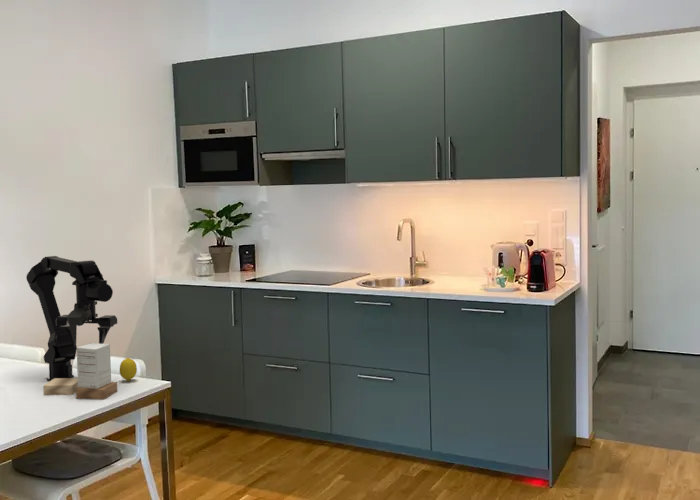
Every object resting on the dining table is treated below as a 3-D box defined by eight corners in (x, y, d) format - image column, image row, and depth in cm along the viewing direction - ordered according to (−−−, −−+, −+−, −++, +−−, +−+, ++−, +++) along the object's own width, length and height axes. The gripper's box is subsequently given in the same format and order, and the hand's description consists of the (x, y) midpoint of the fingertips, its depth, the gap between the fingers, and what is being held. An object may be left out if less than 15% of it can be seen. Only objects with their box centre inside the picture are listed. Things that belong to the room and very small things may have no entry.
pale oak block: (43, 395, 224) (43, 385, 224) (54, 387, 233) (54, 378, 233) (72, 394, 225) (72, 385, 224) (82, 386, 234) (82, 377, 233)
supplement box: (92, 381, 229) (90, 342, 228) (112, 383, 227) (110, 343, 226) (77, 387, 222) (75, 347, 221) (97, 389, 220) (96, 348, 219)
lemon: (139, 379, 243) (138, 355, 242) (133, 383, 238) (132, 359, 237) (123, 378, 244) (123, 355, 243) (117, 383, 238) (116, 359, 238)
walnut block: (76, 398, 220) (75, 388, 220) (90, 390, 229) (90, 381, 229) (103, 399, 219) (103, 389, 219) (117, 391, 228) (116, 382, 228)
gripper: (45, 302, 226) (47, 351, 227) (101, 303, 224) (102, 352, 225) (64, 297, 237) (65, 344, 238) (117, 298, 235) (118, 345, 236)
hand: (87, 346), depth 234 cm, fingers open, 9 cm apart
